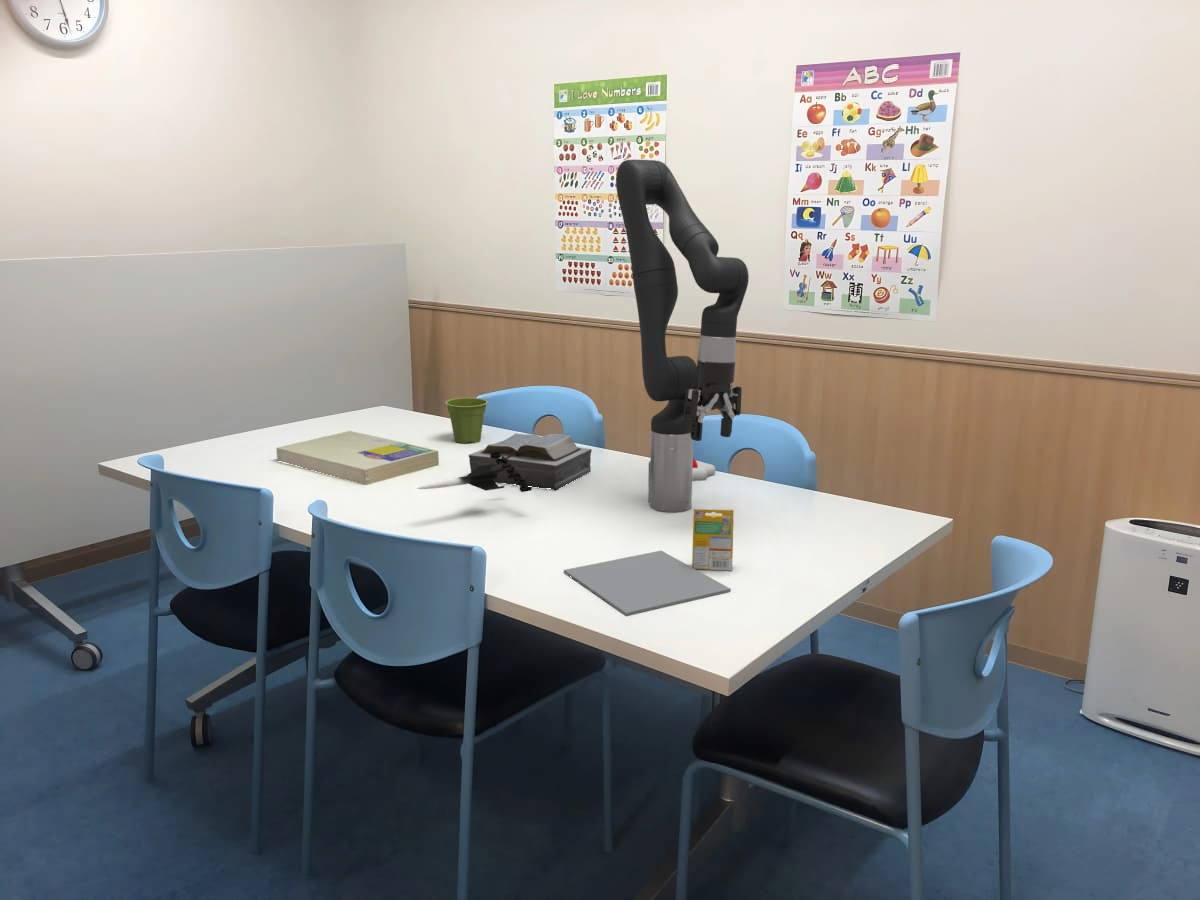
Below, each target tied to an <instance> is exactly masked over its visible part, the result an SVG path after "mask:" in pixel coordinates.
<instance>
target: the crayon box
mask: <svg viewBox="0 0 1200 900" xmlns="http://www.w3.org/2000/svg"><path fill="white" fill-rule="evenodd" d="M712 513H715V515H713V514H712ZM717 514H719V515H717ZM720 514H721V515H720ZM692 516H693V517H692V518H693V519H692V562H691V567H692V568H694V569H696V570H706V571H707V570H708V571H709V570H710V571H711V570H712V571H729V572H731V571H732V570H733V557H734V556H733V553H734V552H733V550H734V509H705V508H704V509H703V508H702V509H700V508H699V509H698V508H694V509H693V515H692Z"/></svg>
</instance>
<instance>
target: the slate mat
mask: <svg viewBox="0 0 1200 900" xmlns="http://www.w3.org/2000/svg"><path fill="white" fill-rule="evenodd" d="M564 572H565V573H566V574H565V573H564ZM563 573H564V574H565V575H567V574H568V575H569V576H568V575H567V576H568V577H570V576H571V577H572V578H574V579H575V580H576V581H575V580H574V579H573V580H574V581H575V582H577V581H578V582H579V583H578V582H577V583H578V584H580V585H581V584H582V585H581V586H583V587H584V586H585V587H586V588H585V587H584V588H585V589H587V588H588V589H589V591H590V590H591V591H592V592H591V591H590V592H591V593H593V592H594V593H595V594H596V596H597V595H598V596H599V597H598V596H597V597H598V598H600V599H601V598H602V599H601V600H603V599H604V600H605V601H604V600H603V601H604V602H606V603H607V602H608V603H609V606H611V605H612V606H611V607H613V608H614V607H615V608H614V609H616V610H617V611H618V612H620V613H621V614H623V615H625V616H626V617H628V616H632V615H635V614H640V613H645V612H648V611H654V610H657V609H662V608H665V607H669V606H674V605H678V604H682V603H687V602H691V601H696V600H700V599H704V598H708V597H713V596H716V595H717V596H718V595H721V594H725V593H730V592H731V591H732V589H731V588H730V587H728V586H727V585H724V584H723V583H721V582H719V581H718V580H715V579H714V578H712V577H710V576H708V575H706V574H704V573H703V572H701V571H700V570H698V569H694V568H692V566H690V565H688V564H686V563H685V562H683V561H681V560H679V559H678V558H676V557H674V556H672V555H670V554H668V553H666V552H665V551H663V550H657V551H652V552H647V553H641V554H636V555H633V556H627V557H620V558H616V559H612V560H611V559H610V560H607V561H601V562H598V563H593V564H587V565H582V566H577V567H572V568H567V569H563ZM571 577H570V578H571ZM572 578H571V579H572ZM588 589H587V590H588ZM594 593H593V594H594ZM595 594H594V595H595ZM608 603H607V604H608Z"/></svg>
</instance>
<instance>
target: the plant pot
mask: <svg viewBox="0 0 1200 900" xmlns="http://www.w3.org/2000/svg"><path fill="white" fill-rule="evenodd" d="M488 403H489V401H488V400H487V399H485V398H477V397H457V398H452V399H451V398H450V399H448V400H446V401H445V403H444V404H445V405H446V406H447V410H448V413H449V418H450V422H451V427H452V433H453V439H454V441H455V442H456V443H458V444H464V445H465V444H469V443H473V444H475V443H479V442H480V441H481V439H482V431H483V424H484V419H485V418H484V417H485V412H486V407H487V404H488Z"/></svg>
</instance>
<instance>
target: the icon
mask: <svg viewBox="0 0 1200 900" xmlns="http://www.w3.org/2000/svg"><path fill="white" fill-rule="evenodd" d="M715 473H716V466H715V465H713V464H711V463H707V462H703V461H699V460H696V459H694V458H693V469H692V481H705V480H706V479H707V478H708V477H711V476H714V474H715Z"/></svg>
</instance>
